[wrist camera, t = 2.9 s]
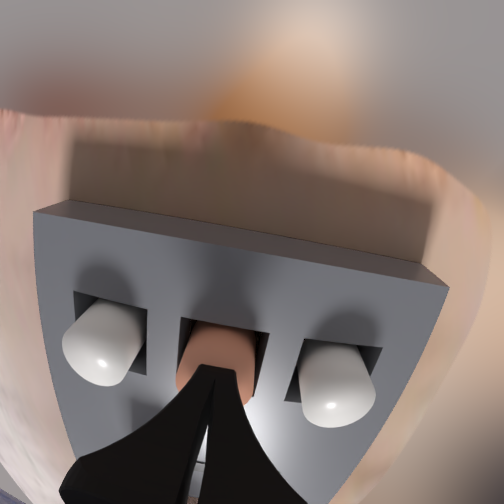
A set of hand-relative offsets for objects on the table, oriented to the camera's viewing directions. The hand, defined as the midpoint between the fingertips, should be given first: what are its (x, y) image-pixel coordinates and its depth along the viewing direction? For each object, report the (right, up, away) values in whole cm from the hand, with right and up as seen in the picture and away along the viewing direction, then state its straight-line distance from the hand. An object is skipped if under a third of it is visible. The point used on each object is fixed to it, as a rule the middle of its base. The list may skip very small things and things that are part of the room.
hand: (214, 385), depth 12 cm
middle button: (0, +1, +3) cm, 3 cm away
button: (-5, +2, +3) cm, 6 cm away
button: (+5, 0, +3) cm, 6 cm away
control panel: (-1, -2, +6) cm, 6 cm away
